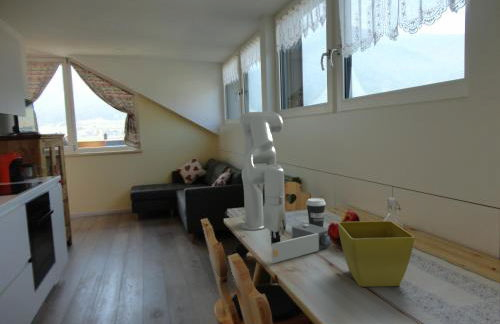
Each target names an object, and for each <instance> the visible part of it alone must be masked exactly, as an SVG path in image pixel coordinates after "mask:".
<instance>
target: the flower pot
mask: <svg viewBox="0 0 500 324" xmlns="http://www.w3.org/2000/svg"><path fill="white" fill-rule="evenodd" d="M337 229H338V234H339V239H340V244H341V248H342V252H343V255H344V259H345V263H346V265H347V268H348V270H349V272H350V274H351V276H352V278H353V279H354V280H355V283H356V284H357V285H358V286H359V287H362V288H363V287H399V286H400V285H401V282H402V281H403V279H404V277H405V273H406V271H407V270H408V266H409V263H410V260H411V256H412V252H413V247H414V242H415V236H414V235H413V234H412V233H410V232H408V231H407V230H405V229H404V228H402V227H401V226H399V225H398V224H396V222H393V220H375V221H373V220H372V221H371V220H370V221H369V220H366V221H339V222H337Z"/></svg>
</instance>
